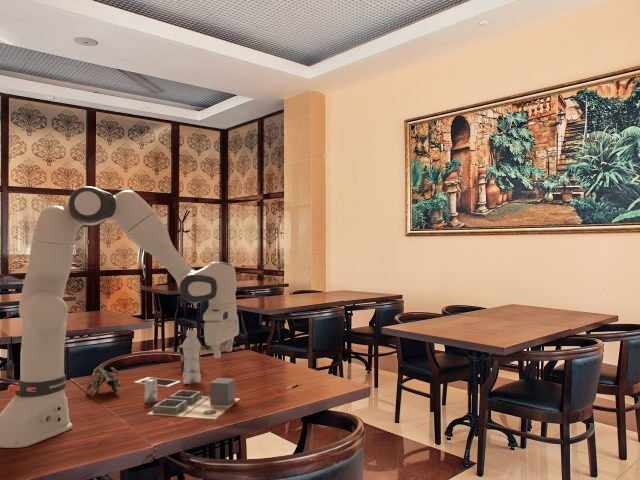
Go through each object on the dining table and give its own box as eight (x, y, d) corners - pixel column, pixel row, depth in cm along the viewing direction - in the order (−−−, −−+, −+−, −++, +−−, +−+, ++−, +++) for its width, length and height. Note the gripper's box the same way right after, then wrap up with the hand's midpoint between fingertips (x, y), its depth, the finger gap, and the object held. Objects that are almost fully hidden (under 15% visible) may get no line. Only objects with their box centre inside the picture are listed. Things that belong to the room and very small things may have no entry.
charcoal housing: (228, 405, 160) (228, 383, 160) (210, 404, 161) (210, 382, 161) (235, 400, 166) (235, 378, 166) (217, 399, 167) (217, 377, 167)
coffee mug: (178, 367, 216) (178, 344, 216) (199, 366, 218) (199, 343, 218) (179, 374, 205) (179, 349, 205) (201, 373, 207) (201, 348, 207)
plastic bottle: (196, 386, 187) (196, 332, 187) (179, 385, 188) (179, 331, 188) (203, 382, 193) (203, 329, 193) (187, 381, 195) (187, 329, 195)
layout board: (215, 424, 148) (215, 405, 148) (147, 418, 153) (147, 400, 153) (240, 403, 168) (240, 386, 168) (178, 399, 172) (178, 382, 172)
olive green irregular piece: (113, 407, 181) (130, 381, 179) (85, 409, 172) (103, 382, 170) (101, 384, 187) (117, 359, 185) (73, 386, 178) (89, 359, 176)
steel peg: (153, 403, 168) (153, 382, 168) (142, 402, 168) (142, 381, 169) (159, 399, 172) (159, 379, 172) (148, 399, 172) (148, 378, 172)
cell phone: (147, 378, 200) (147, 377, 200) (181, 382, 194) (181, 381, 194) (133, 383, 193) (133, 382, 193) (168, 388, 187) (168, 386, 187)
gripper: (226, 307, 175) (226, 347, 175) (200, 315, 155) (200, 361, 155) (243, 307, 174) (243, 348, 174) (219, 316, 154) (220, 362, 154)
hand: (223, 354), depth 164 cm, fingers open, 8 cm apart
